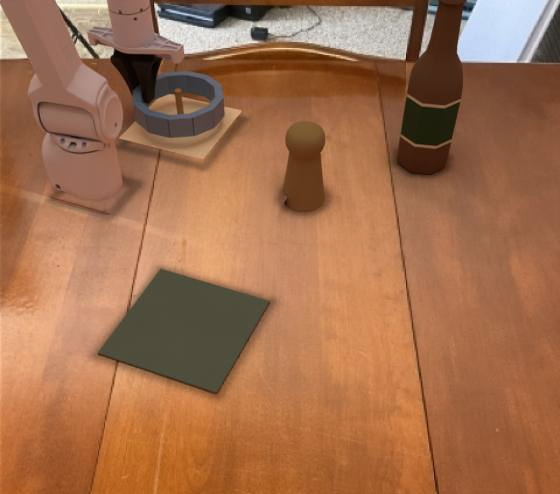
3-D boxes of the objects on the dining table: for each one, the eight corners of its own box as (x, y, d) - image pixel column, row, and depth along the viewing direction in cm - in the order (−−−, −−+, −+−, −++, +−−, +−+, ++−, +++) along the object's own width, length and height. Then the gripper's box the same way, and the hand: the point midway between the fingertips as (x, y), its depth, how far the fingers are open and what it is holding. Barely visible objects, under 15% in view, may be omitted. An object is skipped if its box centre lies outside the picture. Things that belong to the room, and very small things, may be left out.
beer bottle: (455, 155, 102) (496, -16, 83) (434, 182, 97) (471, 8, 79) (408, 139, 104) (437, -31, 85) (385, 165, 100) (410, -8, 81)
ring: (119, 125, 100) (115, 107, 98) (162, 82, 108) (159, 64, 105) (200, 145, 97) (198, 126, 95) (238, 100, 105) (237, 81, 102)
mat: (97, 354, 77) (97, 352, 77) (160, 270, 86) (160, 268, 86) (216, 394, 74) (216, 392, 74) (269, 302, 83) (269, 300, 82)
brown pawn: (320, 214, 93) (325, 143, 84) (277, 208, 94) (277, 137, 85) (327, 187, 97) (332, 117, 88) (286, 182, 97) (287, 111, 89)
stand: (120, 146, 103) (111, 104, 97) (164, 100, 111) (158, 58, 105) (203, 168, 99) (199, 124, 94) (242, 119, 108) (240, 76, 102)
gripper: (190, 2, 93) (199, 95, 104) (98, -16, 96) (116, 76, 107) (165, 24, 89) (177, 119, 100) (71, 5, 92) (92, 99, 103)
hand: (144, 98), depth 103 cm, fingers closed on ring
